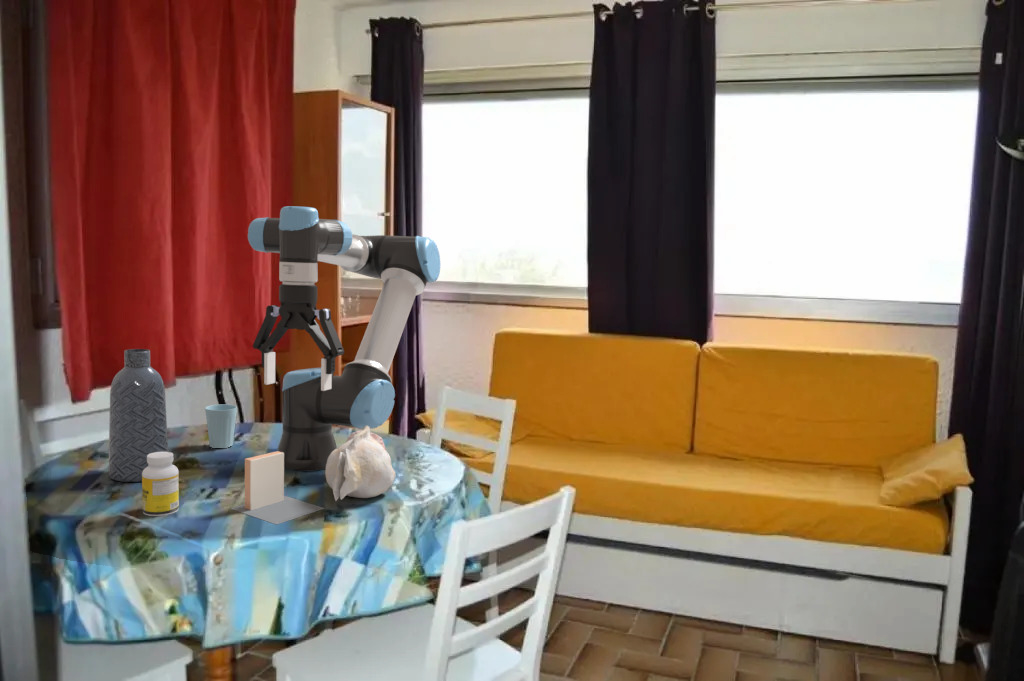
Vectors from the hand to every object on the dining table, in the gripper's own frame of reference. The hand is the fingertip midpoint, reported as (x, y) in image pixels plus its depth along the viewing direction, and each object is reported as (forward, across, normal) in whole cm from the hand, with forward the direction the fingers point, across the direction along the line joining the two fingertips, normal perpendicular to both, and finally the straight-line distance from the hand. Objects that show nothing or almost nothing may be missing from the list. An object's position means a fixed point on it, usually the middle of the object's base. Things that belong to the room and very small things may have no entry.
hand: (297, 386), depth 160 cm
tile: (+23, -2, -7) cm, 24 cm away
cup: (+24, -41, +27) cm, 54 cm away
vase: (+24, -40, -2) cm, 47 cm away
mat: (+24, +1, -8) cm, 25 cm away
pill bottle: (+24, -18, -19) cm, 35 cm away
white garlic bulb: (+24, +10, +6) cm, 27 cm away
